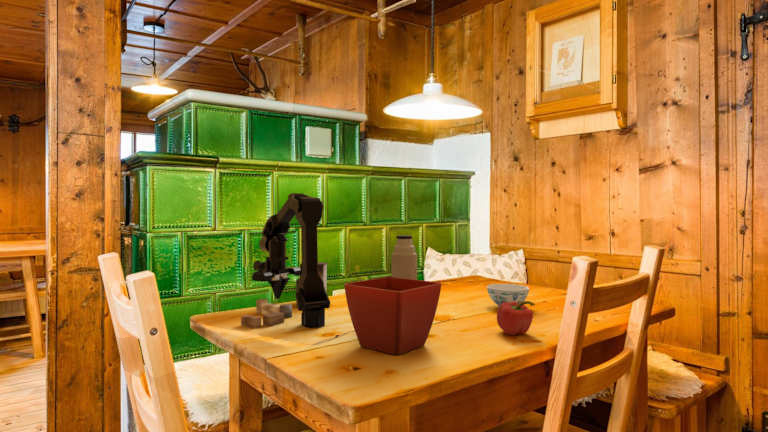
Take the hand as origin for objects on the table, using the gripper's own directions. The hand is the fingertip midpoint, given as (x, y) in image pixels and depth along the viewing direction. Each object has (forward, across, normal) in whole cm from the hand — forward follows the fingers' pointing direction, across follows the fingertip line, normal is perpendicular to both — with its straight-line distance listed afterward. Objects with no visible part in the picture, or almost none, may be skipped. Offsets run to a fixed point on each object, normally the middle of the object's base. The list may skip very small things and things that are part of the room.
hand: (277, 298), depth 168 cm
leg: (+4, +7, +5) cm, 10 cm away
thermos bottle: (+5, -9, +45) cm, 47 cm away
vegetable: (+5, -17, +78) cm, 80 cm away
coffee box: (+5, -15, +3) cm, 16 cm away
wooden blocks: (+5, +18, +11) cm, 22 cm away
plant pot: (+5, +13, +54) cm, 56 cm away
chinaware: (+5, -51, +65) cm, 83 cm away
